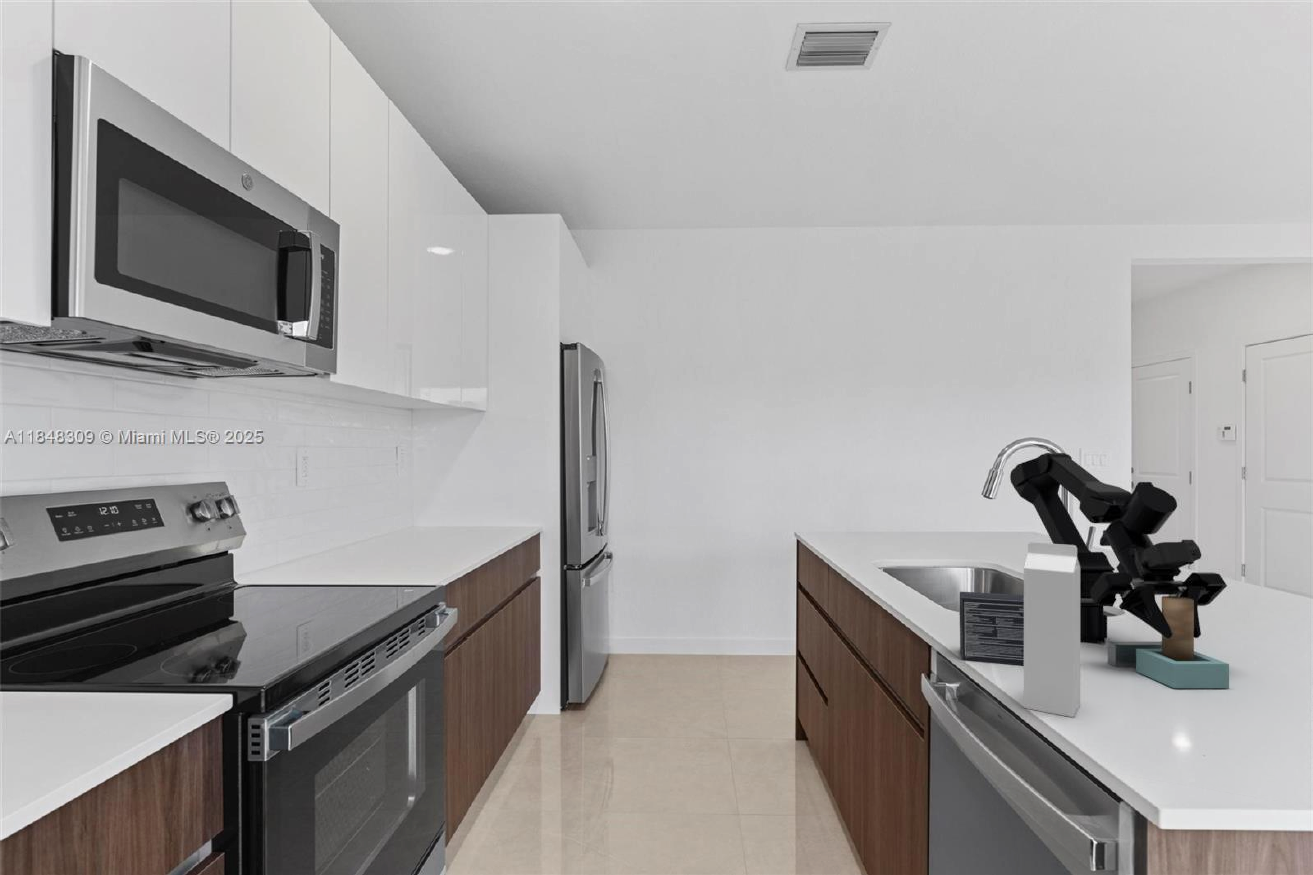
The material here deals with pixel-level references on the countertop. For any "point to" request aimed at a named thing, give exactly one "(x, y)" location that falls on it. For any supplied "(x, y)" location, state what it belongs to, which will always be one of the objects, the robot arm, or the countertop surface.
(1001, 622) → the small box
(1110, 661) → the bar
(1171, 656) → the dowel
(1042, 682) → the milk
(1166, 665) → the teal square frame
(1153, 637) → the countertop surface
